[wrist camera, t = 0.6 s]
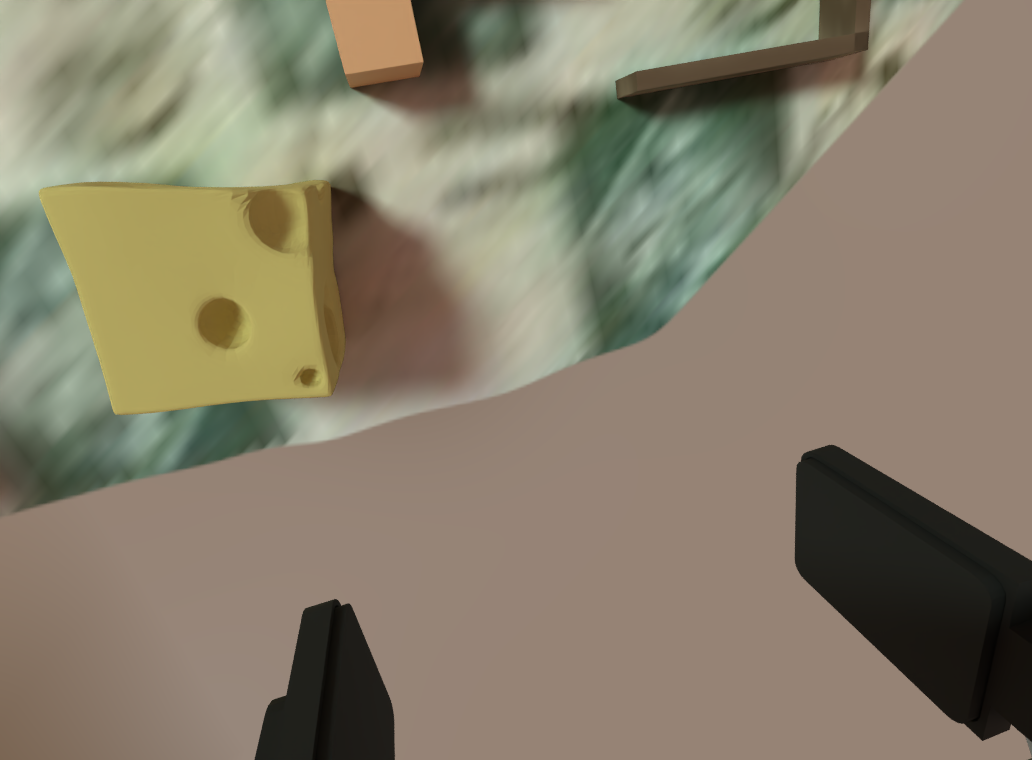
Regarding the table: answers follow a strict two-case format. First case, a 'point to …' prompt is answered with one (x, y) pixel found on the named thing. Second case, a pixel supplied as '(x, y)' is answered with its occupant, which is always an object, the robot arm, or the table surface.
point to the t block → (376, 40)
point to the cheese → (204, 290)
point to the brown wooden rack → (765, 53)
